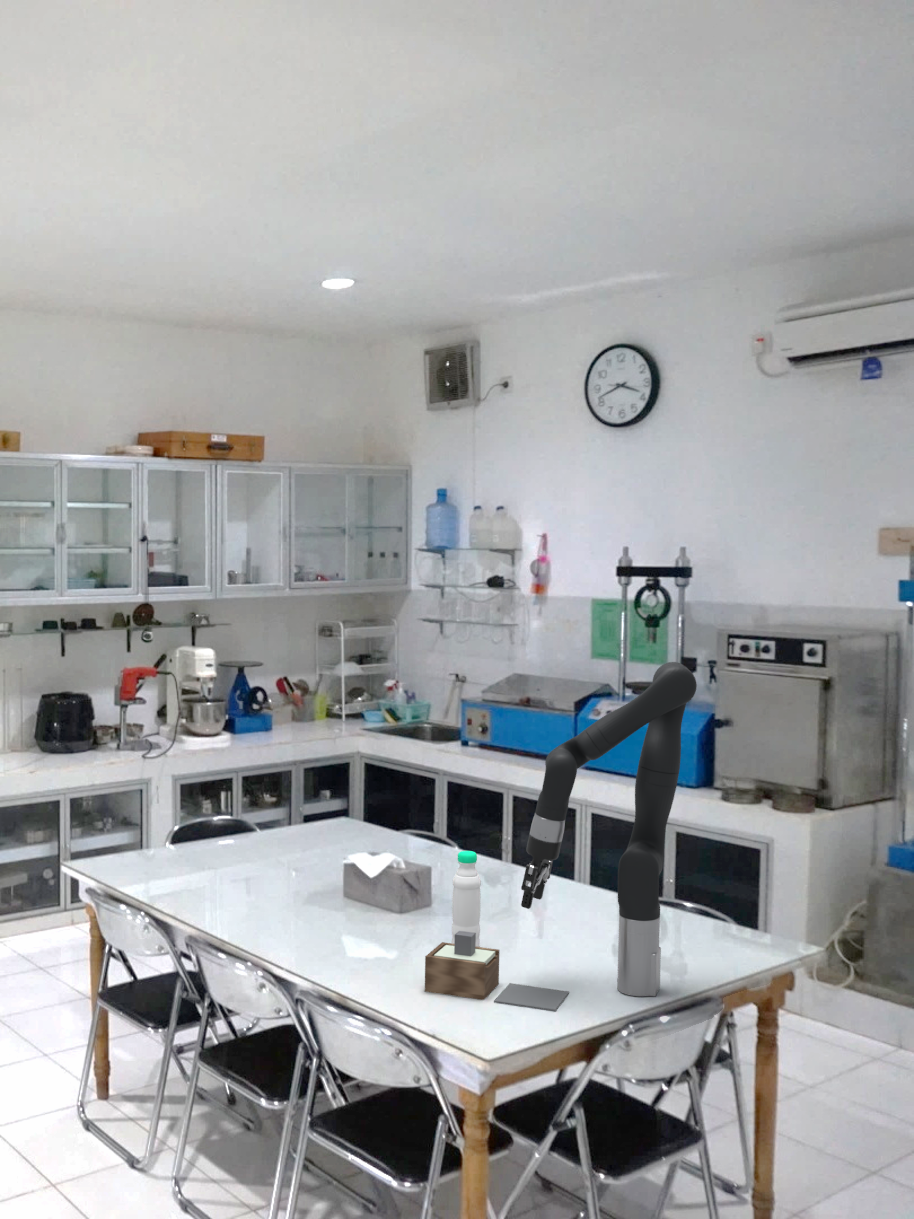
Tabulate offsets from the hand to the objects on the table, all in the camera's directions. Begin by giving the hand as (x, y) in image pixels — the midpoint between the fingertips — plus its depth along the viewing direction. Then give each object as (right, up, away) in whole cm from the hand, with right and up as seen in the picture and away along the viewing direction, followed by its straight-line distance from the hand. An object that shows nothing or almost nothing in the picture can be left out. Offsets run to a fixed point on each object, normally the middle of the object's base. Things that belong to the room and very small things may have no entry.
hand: (531, 902), depth 280 cm
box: (-16, -19, -2) cm, 25 cm away
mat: (0, -19, -8) cm, 21 cm away
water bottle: (-15, -18, +23) cm, 33 cm away
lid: (-15, -12, -3) cm, 20 cm away
